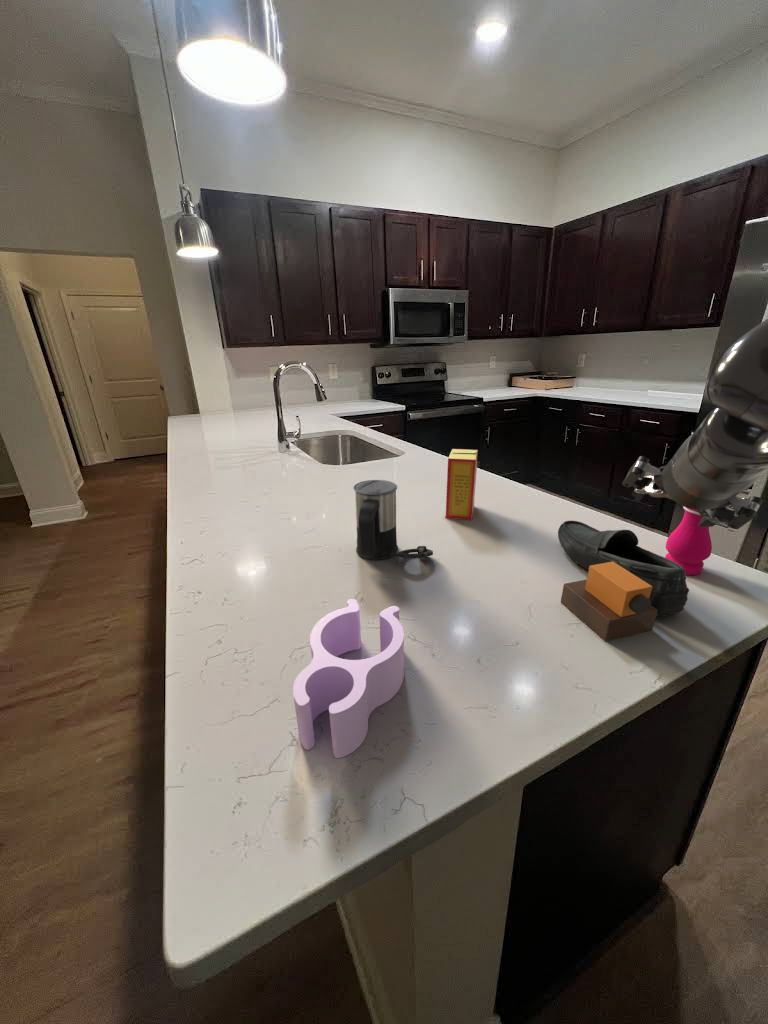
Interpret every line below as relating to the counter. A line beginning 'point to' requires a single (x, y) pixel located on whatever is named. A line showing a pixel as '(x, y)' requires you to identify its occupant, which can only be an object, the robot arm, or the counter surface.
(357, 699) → the clip
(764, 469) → the robot arm
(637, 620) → the box
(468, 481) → the baking soda box
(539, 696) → the counter surface
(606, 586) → the orange square bottle
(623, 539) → the loafer
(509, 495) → the counter surface
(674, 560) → the pepper mill
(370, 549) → the milk frother
